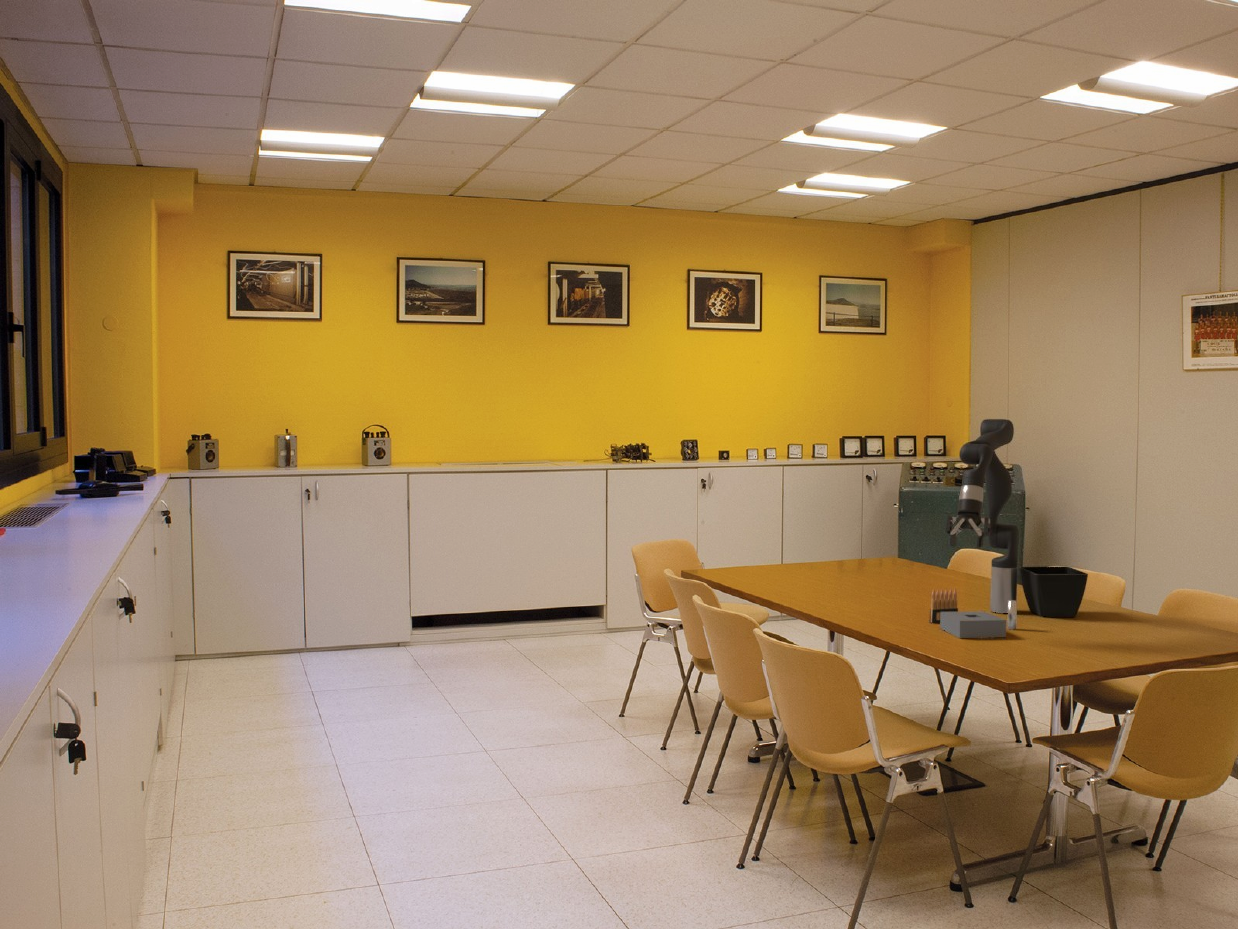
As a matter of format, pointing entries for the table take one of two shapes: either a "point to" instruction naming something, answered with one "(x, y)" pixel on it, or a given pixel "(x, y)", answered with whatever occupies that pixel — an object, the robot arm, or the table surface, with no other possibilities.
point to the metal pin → (1012, 614)
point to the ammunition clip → (942, 604)
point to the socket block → (973, 624)
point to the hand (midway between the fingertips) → (965, 547)
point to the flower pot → (1053, 590)
